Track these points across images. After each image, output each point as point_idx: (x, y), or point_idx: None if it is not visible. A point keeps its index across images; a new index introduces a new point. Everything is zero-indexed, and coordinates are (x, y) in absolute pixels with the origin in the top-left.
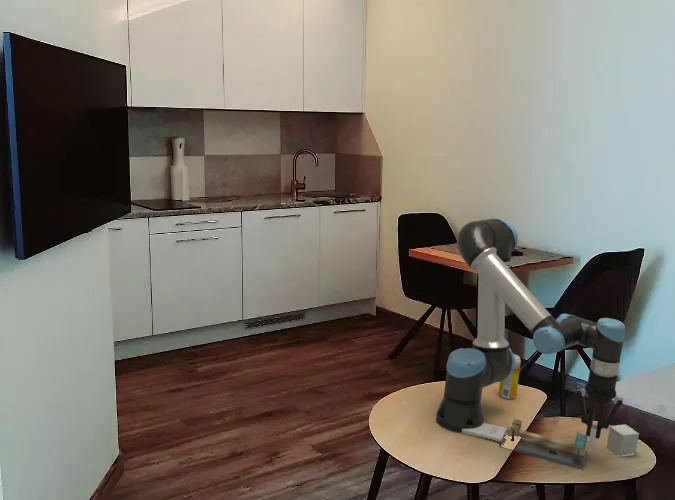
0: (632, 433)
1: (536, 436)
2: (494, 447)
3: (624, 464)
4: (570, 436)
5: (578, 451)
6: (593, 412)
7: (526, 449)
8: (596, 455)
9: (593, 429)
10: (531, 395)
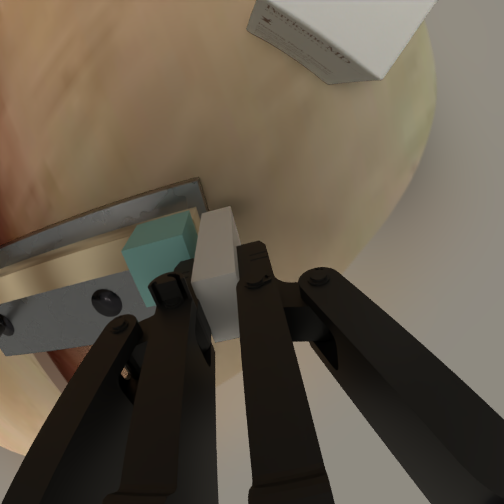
0: (416, 18)
1: (18, 293)
2: (9, 358)
3: (363, 139)
4: (71, 70)
5: None
6: (210, 455)
7: (52, 341)
8: (237, 148)
9: (232, 333)
10: None
